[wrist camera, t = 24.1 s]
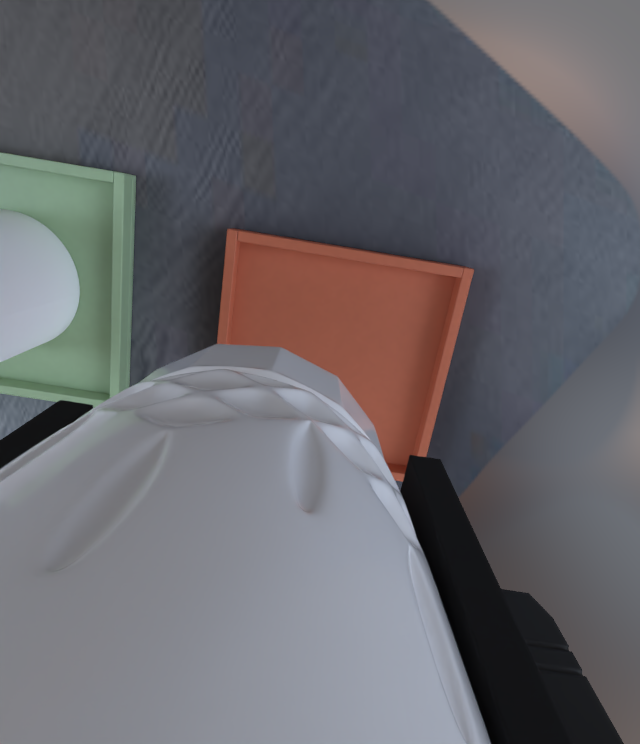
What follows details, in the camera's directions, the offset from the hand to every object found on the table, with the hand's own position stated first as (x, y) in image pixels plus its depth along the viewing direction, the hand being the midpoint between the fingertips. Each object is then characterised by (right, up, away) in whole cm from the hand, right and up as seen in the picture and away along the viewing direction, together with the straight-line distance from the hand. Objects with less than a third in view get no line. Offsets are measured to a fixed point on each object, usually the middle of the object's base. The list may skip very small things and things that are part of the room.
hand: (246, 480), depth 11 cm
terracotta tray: (+3, +3, +19) cm, 19 cm away
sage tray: (-17, +8, +17) cm, 26 cm away
